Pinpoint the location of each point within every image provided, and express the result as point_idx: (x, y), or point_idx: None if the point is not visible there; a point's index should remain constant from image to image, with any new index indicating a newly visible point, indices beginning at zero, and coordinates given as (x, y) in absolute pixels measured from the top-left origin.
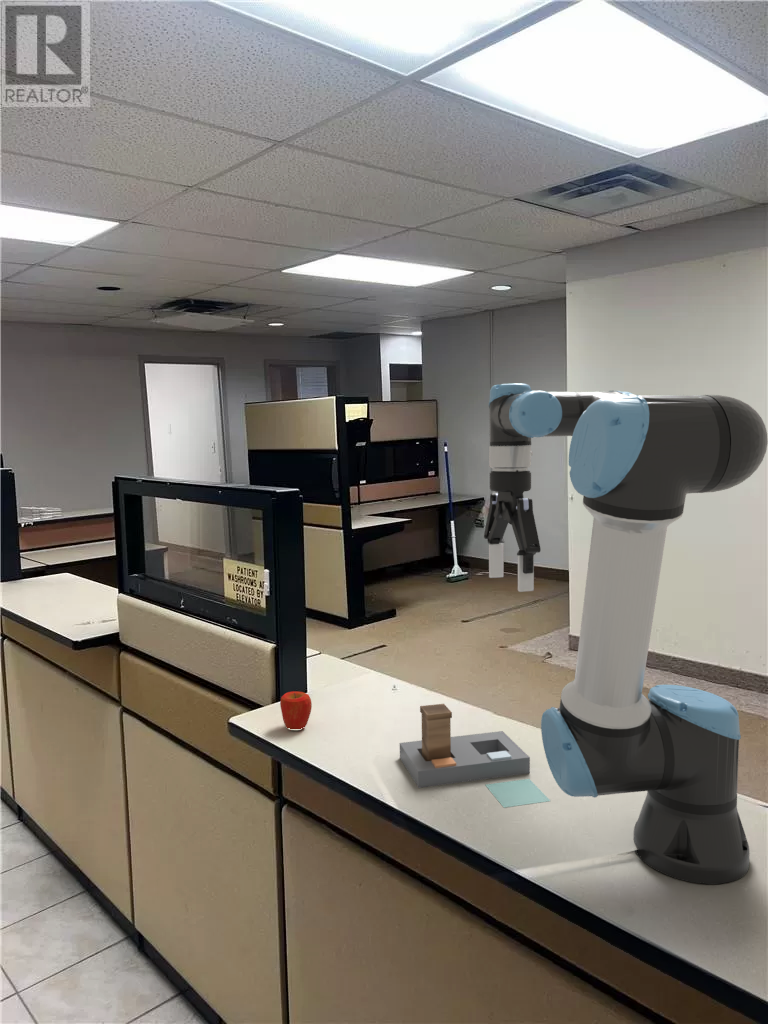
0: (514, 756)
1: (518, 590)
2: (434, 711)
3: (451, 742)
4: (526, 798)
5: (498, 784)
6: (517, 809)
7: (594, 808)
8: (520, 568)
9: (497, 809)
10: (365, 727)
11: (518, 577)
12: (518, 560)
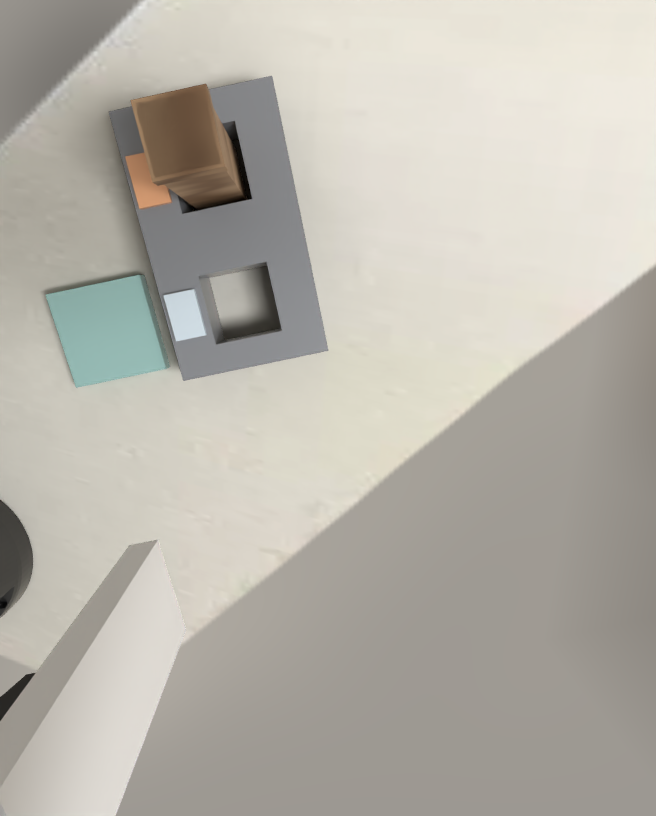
0: (187, 349)
1: (144, 544)
2: (160, 127)
3: (268, 215)
4: (82, 345)
5: (140, 302)
6: None
7: (85, 458)
8: (43, 674)
9: (73, 286)
10: (504, 13)
11: (107, 601)
12: (21, 729)
